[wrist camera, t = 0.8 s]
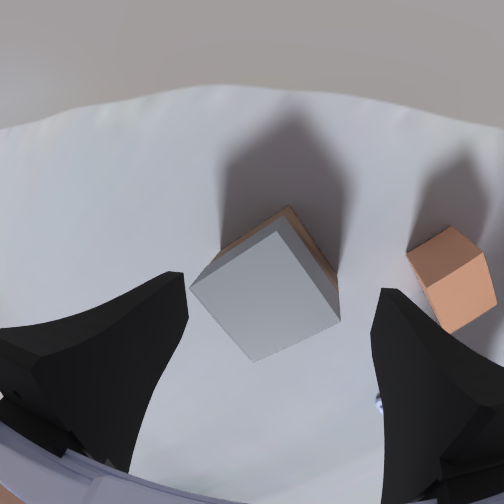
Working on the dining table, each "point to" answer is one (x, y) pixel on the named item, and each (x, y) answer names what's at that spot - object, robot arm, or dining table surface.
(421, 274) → the tan clay cube
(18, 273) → the dining table surface
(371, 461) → the dining table surface
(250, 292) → the slate slab
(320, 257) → the walnut slab
